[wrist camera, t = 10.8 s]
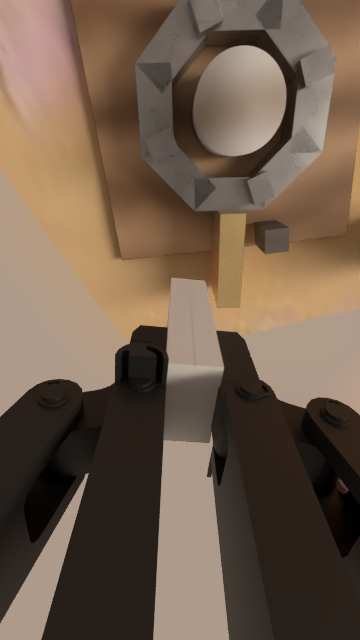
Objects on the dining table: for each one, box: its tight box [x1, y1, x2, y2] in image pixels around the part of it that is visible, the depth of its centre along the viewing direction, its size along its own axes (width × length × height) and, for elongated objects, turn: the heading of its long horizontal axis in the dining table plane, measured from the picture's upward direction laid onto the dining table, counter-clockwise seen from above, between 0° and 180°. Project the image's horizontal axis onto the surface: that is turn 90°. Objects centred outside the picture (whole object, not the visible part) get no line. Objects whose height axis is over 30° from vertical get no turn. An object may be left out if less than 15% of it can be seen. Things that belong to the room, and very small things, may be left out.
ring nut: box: [135, 0, 337, 308], centre depth 25 cm, size 22×14×5 cm, turn 1°
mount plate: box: [71, 0, 360, 260], centre depth 24 cm, size 22×22×7 cm
